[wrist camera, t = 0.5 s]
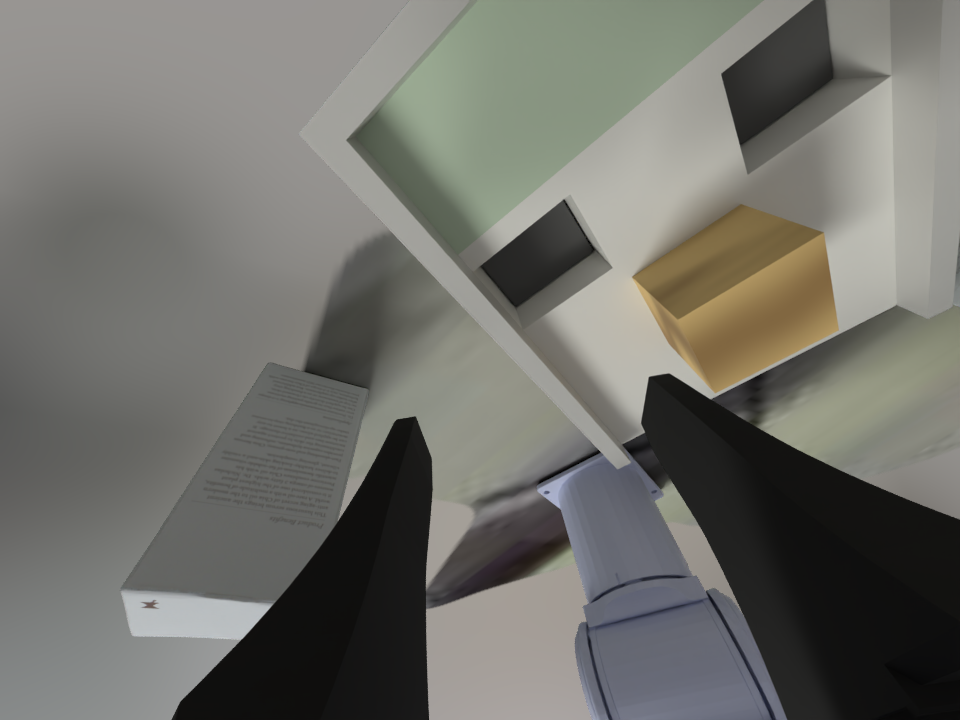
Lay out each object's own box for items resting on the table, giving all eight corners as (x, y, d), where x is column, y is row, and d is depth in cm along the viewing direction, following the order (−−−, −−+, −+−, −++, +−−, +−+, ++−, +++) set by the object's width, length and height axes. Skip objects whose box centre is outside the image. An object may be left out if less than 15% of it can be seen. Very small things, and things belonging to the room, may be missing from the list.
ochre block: (765, 287, 17) (838, 330, 14) (668, 343, 19) (715, 393, 16) (741, 203, 15) (824, 232, 11) (631, 276, 16) (677, 319, 13)
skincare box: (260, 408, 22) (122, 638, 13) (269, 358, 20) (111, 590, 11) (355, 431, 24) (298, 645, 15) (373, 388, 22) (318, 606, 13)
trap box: (871, 274, 20) (952, 307, 17) (595, 424, 26) (617, 469, 23) (821, -442, 8) (1059, -784, 5) (331, 126, 14) (298, 134, 11)
